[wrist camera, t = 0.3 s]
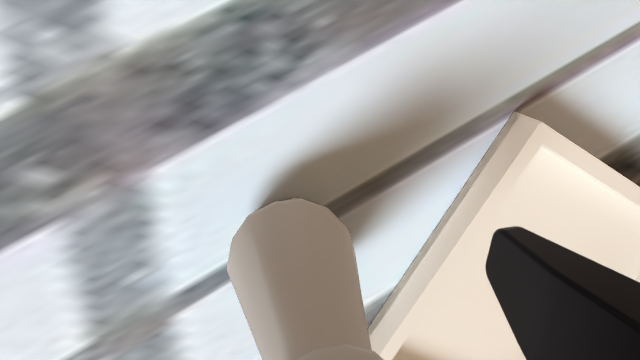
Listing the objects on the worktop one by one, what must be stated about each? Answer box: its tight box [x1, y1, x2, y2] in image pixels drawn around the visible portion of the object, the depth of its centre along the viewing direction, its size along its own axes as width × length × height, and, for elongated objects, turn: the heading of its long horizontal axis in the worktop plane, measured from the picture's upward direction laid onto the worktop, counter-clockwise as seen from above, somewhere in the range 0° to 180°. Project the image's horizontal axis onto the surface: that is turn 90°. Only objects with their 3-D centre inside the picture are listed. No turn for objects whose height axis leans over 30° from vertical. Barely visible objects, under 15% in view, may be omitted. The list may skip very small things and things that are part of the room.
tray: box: [368, 111, 640, 360], centre depth 27 cm, size 16×14×2 cm
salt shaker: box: [227, 198, 384, 360], centre depth 18 cm, size 6×6×13 cm
